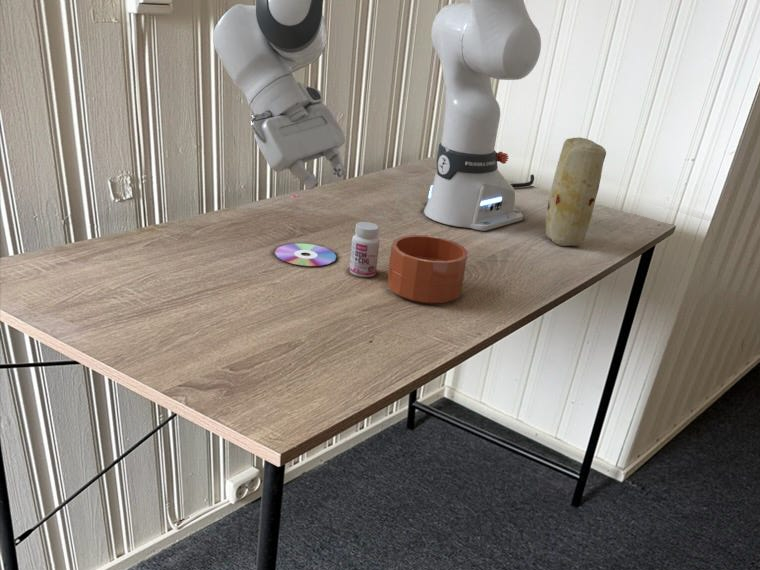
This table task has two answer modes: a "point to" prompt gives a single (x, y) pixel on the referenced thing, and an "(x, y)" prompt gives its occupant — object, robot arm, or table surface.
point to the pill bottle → (364, 250)
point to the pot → (426, 268)
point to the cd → (316, 258)
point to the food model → (574, 191)
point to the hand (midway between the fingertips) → (328, 181)
